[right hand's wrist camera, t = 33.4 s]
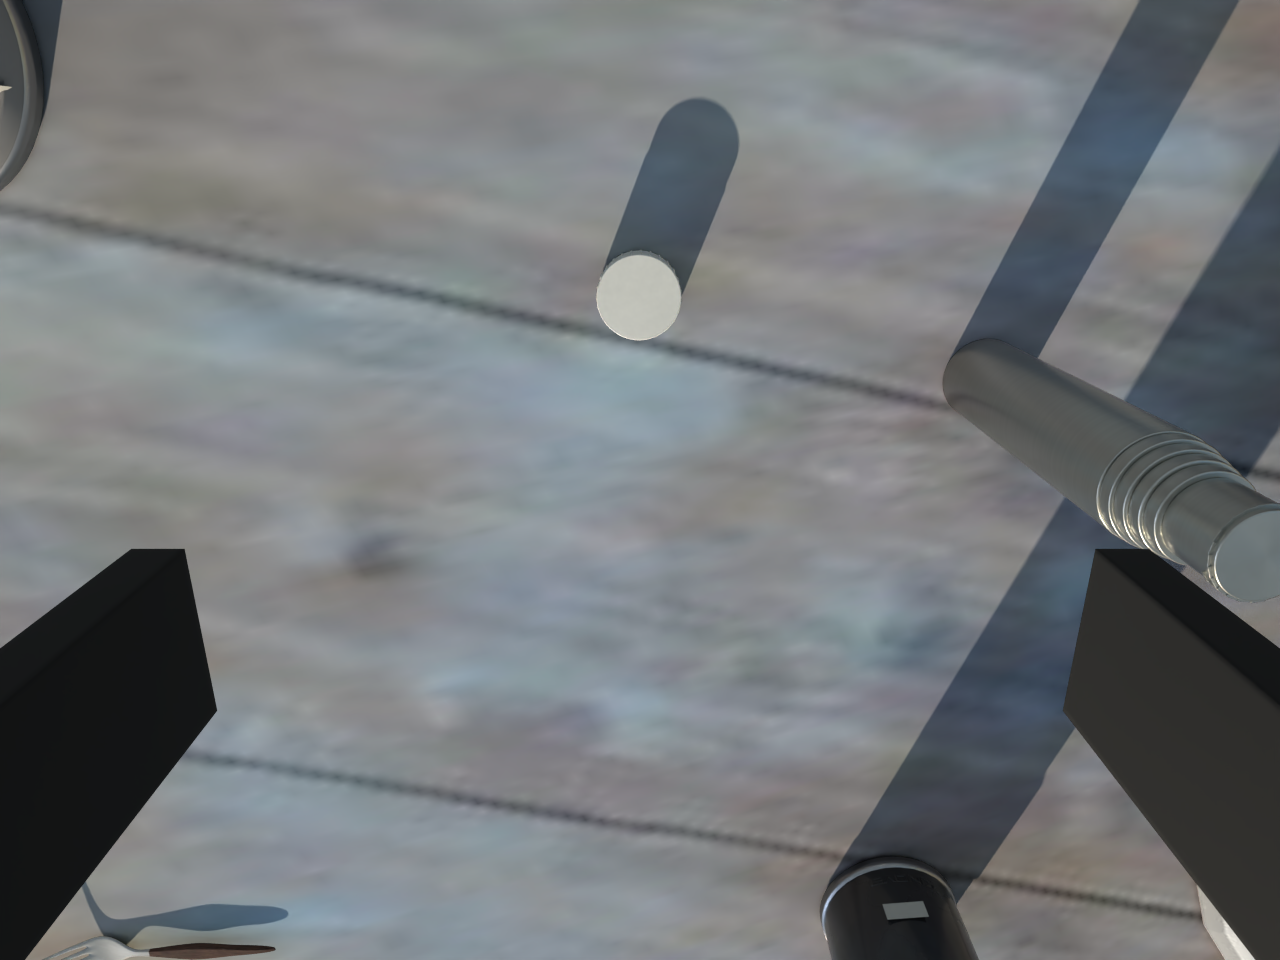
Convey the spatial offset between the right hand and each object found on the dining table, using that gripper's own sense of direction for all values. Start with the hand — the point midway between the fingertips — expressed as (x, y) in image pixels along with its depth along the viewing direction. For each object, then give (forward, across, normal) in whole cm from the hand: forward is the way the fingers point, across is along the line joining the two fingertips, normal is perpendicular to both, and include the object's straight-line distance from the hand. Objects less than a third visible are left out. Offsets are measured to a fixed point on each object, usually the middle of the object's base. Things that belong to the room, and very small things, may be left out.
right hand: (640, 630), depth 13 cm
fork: (+36, -34, -47) cm, 68 cm away
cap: (+34, 0, 0) cm, 34 cm away
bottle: (+36, +19, -5) cm, 41 cm away
